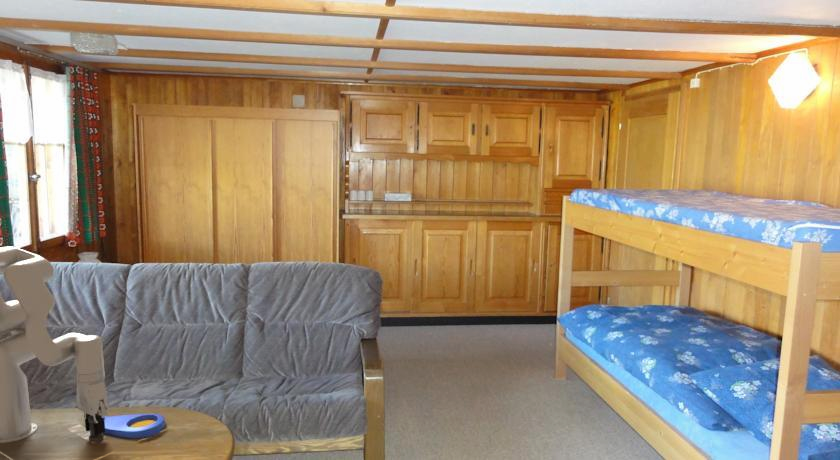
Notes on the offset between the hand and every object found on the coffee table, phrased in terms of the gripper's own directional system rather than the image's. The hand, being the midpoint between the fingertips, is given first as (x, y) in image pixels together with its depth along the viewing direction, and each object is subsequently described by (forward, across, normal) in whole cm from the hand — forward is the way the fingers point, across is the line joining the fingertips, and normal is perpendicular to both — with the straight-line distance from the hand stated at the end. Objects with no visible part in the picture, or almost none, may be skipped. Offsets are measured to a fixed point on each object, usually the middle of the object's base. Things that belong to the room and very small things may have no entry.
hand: (95, 430), depth 186 cm
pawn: (+3, 0, 0) cm, 3 cm away
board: (+3, -6, 0) cm, 7 cm away
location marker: (+4, 0, +10) cm, 10 cm away
